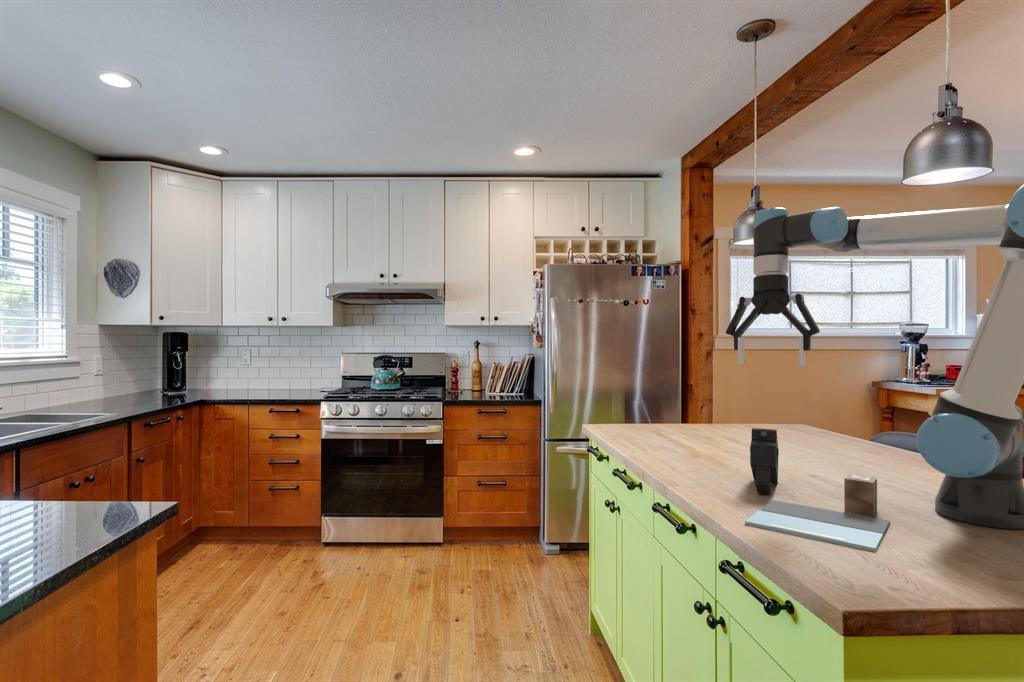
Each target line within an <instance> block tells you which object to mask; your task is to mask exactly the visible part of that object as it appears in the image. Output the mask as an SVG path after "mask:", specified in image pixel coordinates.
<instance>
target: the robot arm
mask: <svg viewBox="0 0 1024 682" xmlns="http://www.w3.org/2000/svg"><path fill="white" fill-rule="evenodd" d="M752 233H753V234H752V235H753V236H752V237H753V264H752V265H753V270H752V272H753V275H755V276H754V277H753V284H752V285H753V288H752V291H753V292H752V293H753V294H752V297H745V296H740V297H739V300H738V306H737V308H736V311H735V312H734V314H733V316H732V318H731V321H730V322H729V324H728V326H727V329H726V330H725V334H727V335H729V336H732V338H733V349H734V351H737V364H738V365H743V364H745V365H746V363H745V361H746V357H745V356H746V355H745V354H746V351H745V350H746V349H745V348H746V345H745V341H746V339H745V336H743V335H744V333H745V332H746V331H747V330H748V329H749V328H750V326H751V325H752V324H753V323H754V322H755V320H756V319H757V318H758V317H759V316H760V315H764V316H765V315H766V316H767V315H772V314H773V315H780V314H782V315H783V316H784V317H785V318H786V319H787V321H788V322H790V323H791V325H792V326H794V327H795V328H796V330H797V331H799V332H800V334H801V335H802V336H799V337H798V359H799V360H798V366H806V365H807V364H806V363H807V356H806V355H807V353H806V351H807V352H809V351H810V350H811V347H812V346H811V344H812V343H811V337H813V336H814V335H817V334H820V332H821V330H820V328H819V326H818V325H817V323H816V321H815V319H814V317H813V316H812V314H811V312H810V310H809V309H808V307H807V305H806V303H805V296H804V295H803V294H802V293H796V294H792V295H790V293H789V276H788V275H787V273H789V248H798V247H807V246H815V247H819V248H824V249H827V250H831V251H834V252H837V253H838V252H841V253H844V252H845V253H848V252H852V251H854V250H873V249H874V250H875V249H877V250H878V249H902V248H903V249H905V248H906V249H907V248H931V247H932V248H933V247H960V246H967V247H968V246H987V245H988V246H989V245H995V246H996V245H999V246H998V251H999V253H1000V255H1001V256H1002V257H1003V259H1004V263H1003V265H1002V267H1001V269H1000V273H999V274H998V277H997V280H996V283H995V285H994V287H993V290H992V292H991V295H990V297H989V300H988V302H987V305H986V307H985V309H984V312H983V313H982V314H983V315H982V316H981V320H980V322H979V324H978V327H977V330H976V332H975V333H974V334H975V335H974V337H973V339H972V341H971V343H970V344H971V345H970V347H969V349H968V352H967V353H966V356H965V358H964V361H963V363H962V366H961V369H960V371H959V373H958V376H957V378H956V381H955V383H954V386H953V387H951V388H950V389H948V390H945V391H942V392H940V393H939V396H938V397H937V400H936V403H935V405H934V408H933V411H932V413H931V414H930V415H931V416H930V417H928V418H926V420H924V421H923V422H922V424H921V425H920V427H919V428H918V430H917V434H916V446H917V449H918V452H919V453H920V456H921V457H922V458H923V460H924V461H925V463H927V464H928V465H929V466H930V467H932V468H933V469H934V470H936V471H938V472H940V473H941V474H943V475H944V477H943V480H942V482H941V484H940V486H939V489H938V491H937V494H936V496H935V499H934V510H935V511H936V513H938V514H940V515H942V516H944V517H947V518H949V519H953V520H956V521H960V522H964V523H968V524H973V525H977V526H981V527H982V526H983V527H989V528H999V529H1007V530H1008V529H1009V530H1024V482H1023V481H1024V480H1023V425H1024V418H1023V413H1022V412H1023V411H1022V409H1021V408H1020V406H1018V405H1016V404H1015V403H1016V401H1017V398H1018V395H1019V393H1020V391H1021V388H1022V387H1023V384H1024V184H1023V185H1021V186H1020V187H1019V188H1018V189H1017V190H1016V191H1015V192H1014V193H1013V195H1012V197H1011V198H1010V199H1009V202H1008V204H1001V205H1000V204H999V205H997V204H996V205H987V206H976V207H973V206H972V207H963V208H961V207H960V208H951V209H937V210H936V209H935V210H925V211H924V210H923V211H911V212H903V213H902V212H900V213H899V212H898V213H889V214H877V215H876V214H875V215H874V214H873V215H864V216H863V215H862V216H851V217H849V216H848V215H847V213H846V212H845V211H844V209H843V208H842V207H840V206H834V207H822V208H818V209H815V210H809V211H805V212H799V213H793V214H789V211H788V209H786V208H784V207H773V208H772V207H771V208H764V209H760V210H758V211H756V213H755V214H754V216H753V227H752ZM791 301H792V303H793V304H795V305H796V307H797V308H798V309H797V310H799V312H800V314H801V315H802V317H803V319H804V321H805V323H806V324H807V326H808V328H809V329H808V328H807V327H806V326H805V325H804V324H803V323H802V322H801V320H799V319H798V317H796V315H794V313H793V312H792V311H791V310H790V308H788V305H789V304H790V302H791ZM750 304H752V305H753V306H754V308H753V309H752V310H751V312H750V313H749V315H748V316H747V317H746V318H745V319H744V321H742V323H741V324H740V325H739V323H740V321H741V320H742V318H743V316H744V314H745V312H746V310H747V307H748V306H749V307H750Z"/></svg>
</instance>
